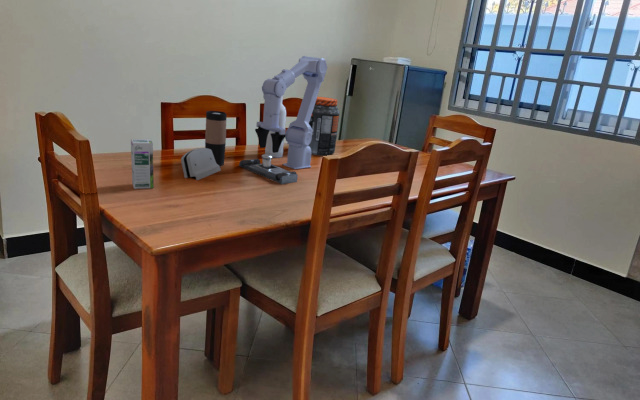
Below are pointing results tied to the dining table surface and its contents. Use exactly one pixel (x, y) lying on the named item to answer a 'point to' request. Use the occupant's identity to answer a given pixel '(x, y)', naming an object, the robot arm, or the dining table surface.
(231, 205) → the dining table surface
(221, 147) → the travel mug
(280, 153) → the bottle
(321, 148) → the supplement tub
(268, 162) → the steel pin
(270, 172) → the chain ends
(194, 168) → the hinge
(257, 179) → the dining table surface
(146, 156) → the syrup box
